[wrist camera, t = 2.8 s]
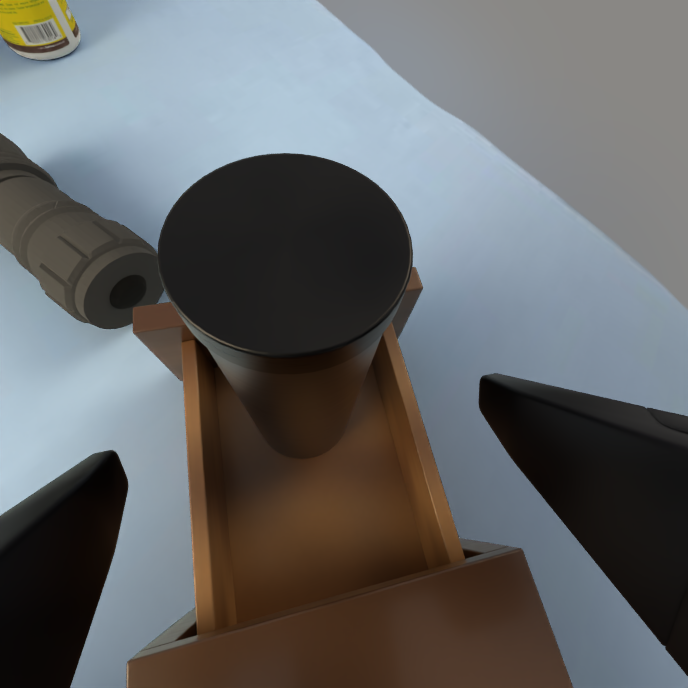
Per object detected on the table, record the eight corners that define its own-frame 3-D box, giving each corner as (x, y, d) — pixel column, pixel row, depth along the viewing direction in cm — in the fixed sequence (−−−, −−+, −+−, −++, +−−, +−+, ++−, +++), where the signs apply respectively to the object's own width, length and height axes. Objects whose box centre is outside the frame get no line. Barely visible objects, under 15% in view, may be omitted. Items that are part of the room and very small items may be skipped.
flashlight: (188, 288, 22) (154, 225, 17) (115, 353, 20) (53, 303, 15) (23, 167, 25) (-47, 84, 20) (-56, 214, 23) (-155, 133, 18)
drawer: (468, 577, 17) (540, 607, 12) (194, 658, 15) (129, 737, 10) (387, 315, 22) (411, 253, 17) (178, 349, 20) (131, 291, 15)
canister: (359, 449, 18) (448, 330, 6) (262, 471, 17) (158, 380, 5) (339, 361, 20) (378, 142, 8) (250, 377, 19) (153, 162, 7)
